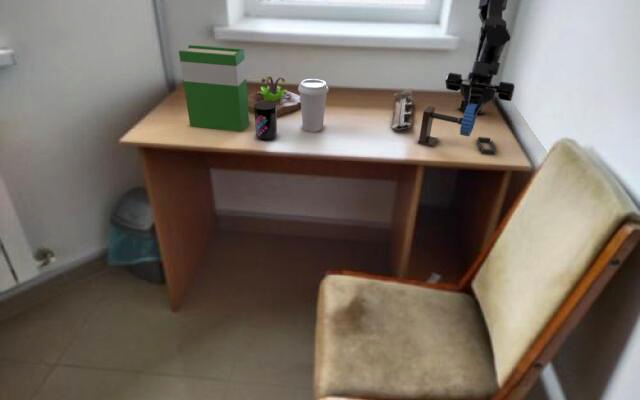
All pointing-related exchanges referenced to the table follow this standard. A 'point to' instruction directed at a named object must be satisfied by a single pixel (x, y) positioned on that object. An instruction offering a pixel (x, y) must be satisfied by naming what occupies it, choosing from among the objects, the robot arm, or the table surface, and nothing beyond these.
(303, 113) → the coffee cup
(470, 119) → the blue ridged ring
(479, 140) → the tape cradle
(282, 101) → the plant
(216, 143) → the table surface
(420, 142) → the hook stand
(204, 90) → the hardback book
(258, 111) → the supplement container
